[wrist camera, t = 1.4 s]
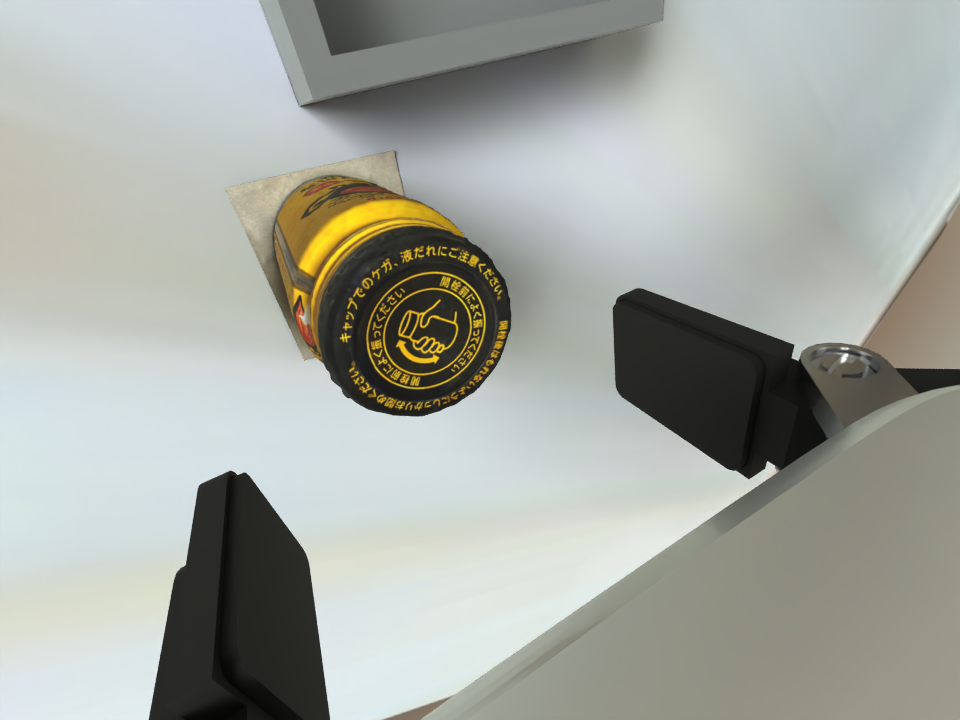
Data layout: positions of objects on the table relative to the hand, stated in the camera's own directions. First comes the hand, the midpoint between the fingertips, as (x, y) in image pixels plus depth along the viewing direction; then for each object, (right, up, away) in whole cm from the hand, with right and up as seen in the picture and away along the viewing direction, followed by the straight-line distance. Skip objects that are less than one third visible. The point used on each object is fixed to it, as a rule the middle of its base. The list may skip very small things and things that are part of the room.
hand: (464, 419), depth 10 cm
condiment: (-6, +6, +11) cm, 14 cm away
